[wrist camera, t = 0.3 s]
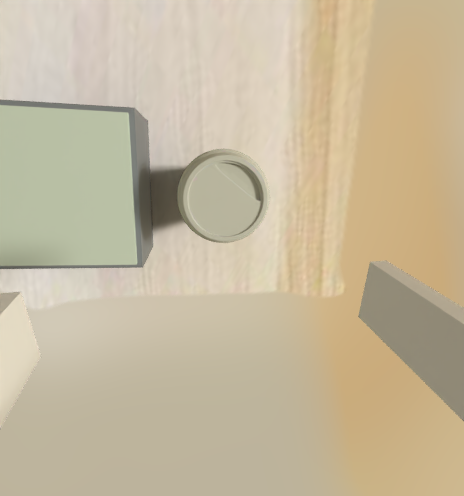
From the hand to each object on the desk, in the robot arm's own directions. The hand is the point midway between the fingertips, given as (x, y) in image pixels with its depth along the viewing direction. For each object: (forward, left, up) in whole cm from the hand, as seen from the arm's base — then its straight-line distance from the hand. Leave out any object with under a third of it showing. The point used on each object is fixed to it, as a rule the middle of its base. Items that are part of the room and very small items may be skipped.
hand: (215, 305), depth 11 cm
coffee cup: (-2, +2, -27) cm, 27 cm away
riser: (-2, -14, -27) cm, 30 cm away
